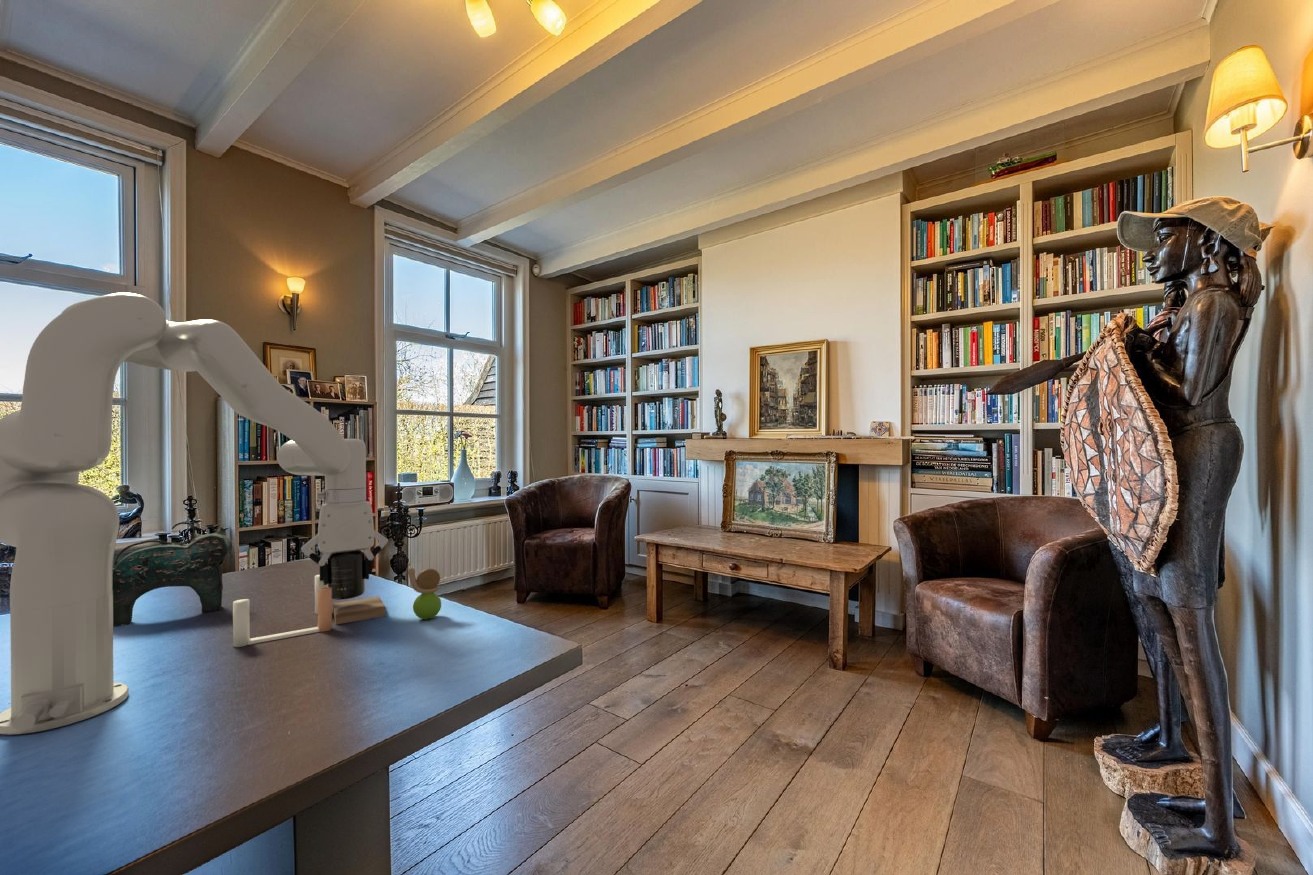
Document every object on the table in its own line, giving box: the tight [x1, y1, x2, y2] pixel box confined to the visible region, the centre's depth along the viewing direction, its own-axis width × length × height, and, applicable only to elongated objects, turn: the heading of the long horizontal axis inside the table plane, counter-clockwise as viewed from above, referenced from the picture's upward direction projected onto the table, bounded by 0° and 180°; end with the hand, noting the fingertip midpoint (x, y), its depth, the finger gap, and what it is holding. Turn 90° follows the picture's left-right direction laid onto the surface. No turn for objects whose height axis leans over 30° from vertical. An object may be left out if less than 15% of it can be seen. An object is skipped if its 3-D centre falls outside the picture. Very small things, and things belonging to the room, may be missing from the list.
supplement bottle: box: [326, 550, 366, 601], centre depth 113 cm, size 7×7×12 cm
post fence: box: [232, 574, 333, 648], centre depth 107 cm, size 15×15×8 cm
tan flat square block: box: [332, 596, 386, 625], centre depth 114 cm, size 9×9×2 cm
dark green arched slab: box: [113, 521, 232, 628], centre depth 114 cm, size 20×6×20 cm, turn 126°
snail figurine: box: [407, 562, 442, 620], centre depth 111 cm, size 5×6×12 cm
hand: (346, 580), depth 113 cm, fingers closed on supplement bottle, 6 cm apart
